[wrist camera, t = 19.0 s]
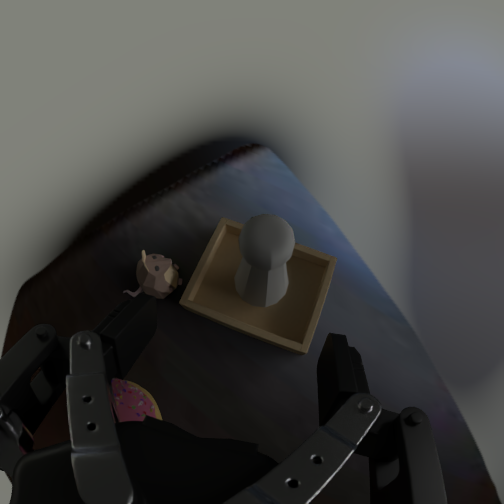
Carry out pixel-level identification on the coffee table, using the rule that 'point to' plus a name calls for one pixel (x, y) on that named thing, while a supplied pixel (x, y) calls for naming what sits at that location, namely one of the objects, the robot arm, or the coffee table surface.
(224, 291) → the tray
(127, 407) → the cupcake
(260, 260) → the salt shaker
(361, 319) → the coffee table surface
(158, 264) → the mouse figurine
